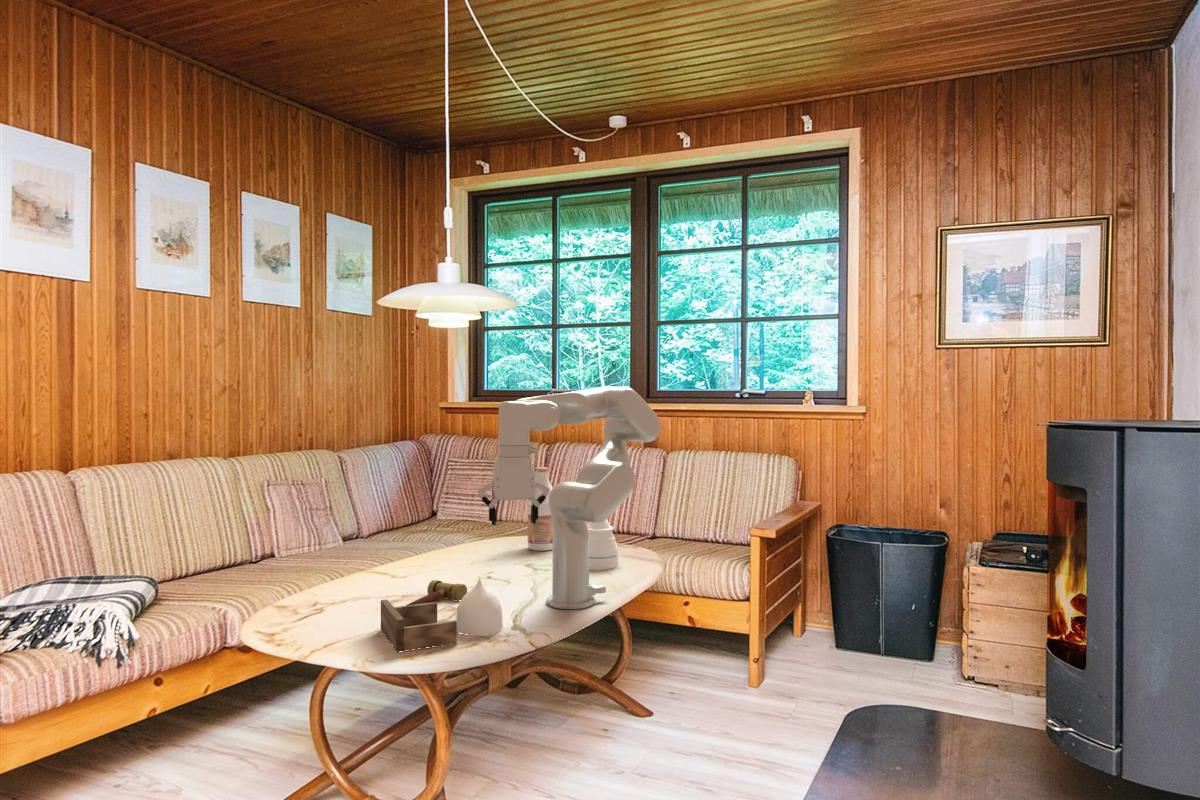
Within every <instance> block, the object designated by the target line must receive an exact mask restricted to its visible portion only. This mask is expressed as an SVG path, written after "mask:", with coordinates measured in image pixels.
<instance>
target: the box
mask: <svg viewBox="0 0 1200 800" xmlns="http://www.w3.org/2000/svg"><path fill="white" fill-rule="evenodd" d="M406 605H407V604H406ZM406 605H400V606H394V605H393V604H392V603H391V602H390V601H389V600H388V599H381V600H380V631H381V630H382V631H383V633H384V634H385V635H384V634H383V633H382V634H383V635H384V637H385V636H386V637H387V638H386V637H385V638H386V640H387V639H388V640H389V641H390V642H389V641H388V640H387V641H388V642H389V644H390V643H391V644H392V645H393V647H394V648H395V649H394V648H393V647H392V648H393V649H394V651H395V650H396V651H397V652H399V651H405V650H412V649H418V648H426V647H432V646H440V647H442V646H441V645H447V646H450V645H449V644H454V645H458V644H457V641H458V640H457V637H458V636H457V634H458V632H457V621H456V620H457V619H455V620H448V621H439V622H438V601H437V602H432V603H424V604H416V605H407V606H406ZM382 631H381V632H382ZM391 644H390V645H391ZM392 645H391V646H392ZM396 651H395V652H396ZM397 652H396V653H397ZM399 653H400V652H399Z"/></svg>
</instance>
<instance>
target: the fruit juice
mask: <svg viewBox="0 0 1200 800" xmlns="http://www.w3.org/2000/svg"><path fill="white" fill-rule="evenodd" d="M534 473H535V481H536V482H538V483H540V484H542V485H544V486H546V487H548V488H549V489H550V491H549V493H548V495H547V496H546V499H545V500H544V501H543V502H542V503H541V504H540V506H539V507H538V520H536V524H533V523H532V522H531V506H532V502H531V501H530V500H529V504H528V506H527V548H528V550H531V551H536V552H544V551H551V550H552V551H553V527H552V518H551V512H550V507H549V496H550V493H551V490H552V489H553V488H554V487H553V486H552V484H551V483H550V478H549V475H548V474H549V467H546V466H537V467H534ZM541 494H542V490H540V489H539V488H537V487H535V498H536V499H537V498H538V497H539V496H540V495H541Z"/></svg>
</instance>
